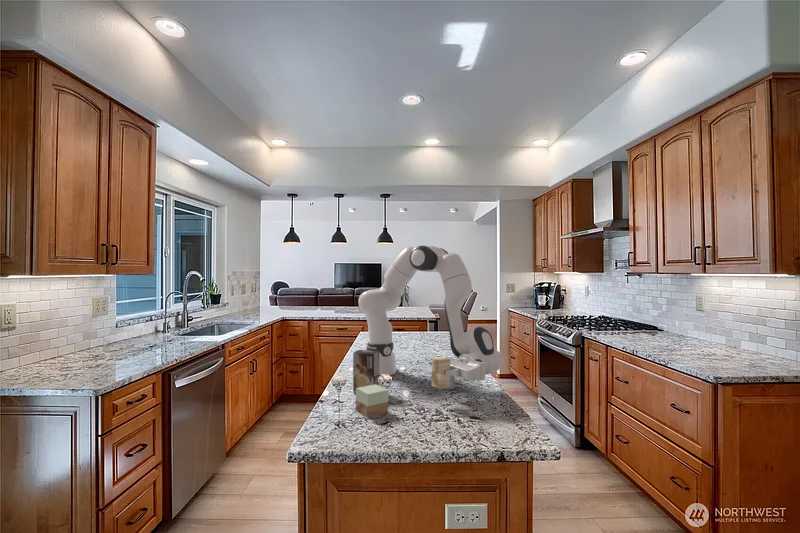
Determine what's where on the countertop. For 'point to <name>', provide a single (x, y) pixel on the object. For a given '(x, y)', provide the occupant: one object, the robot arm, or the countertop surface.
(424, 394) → the countertop surface
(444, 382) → the pillar
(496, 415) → the countertop surface
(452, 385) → the medicine box
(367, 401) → the block top
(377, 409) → the block bottom
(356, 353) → the coffee box
